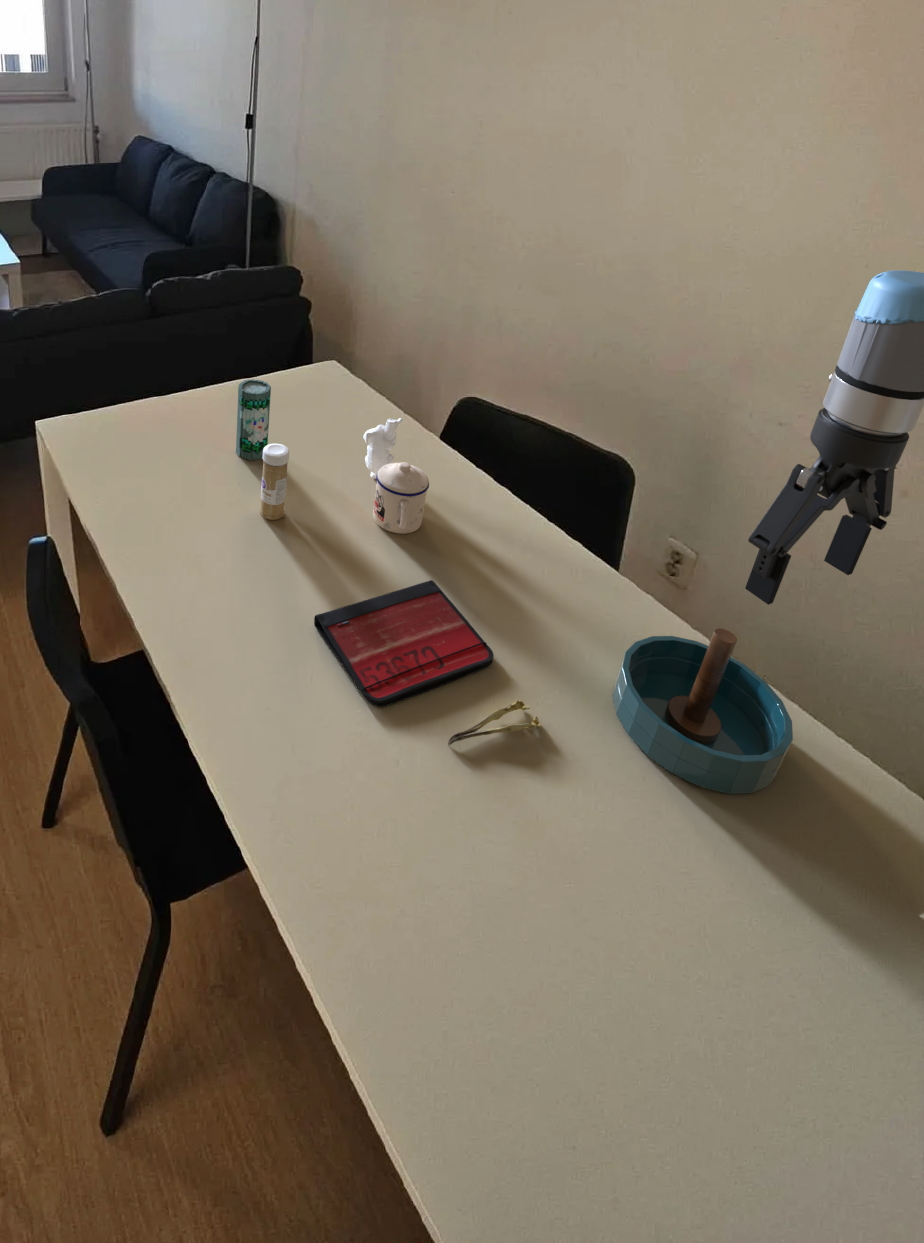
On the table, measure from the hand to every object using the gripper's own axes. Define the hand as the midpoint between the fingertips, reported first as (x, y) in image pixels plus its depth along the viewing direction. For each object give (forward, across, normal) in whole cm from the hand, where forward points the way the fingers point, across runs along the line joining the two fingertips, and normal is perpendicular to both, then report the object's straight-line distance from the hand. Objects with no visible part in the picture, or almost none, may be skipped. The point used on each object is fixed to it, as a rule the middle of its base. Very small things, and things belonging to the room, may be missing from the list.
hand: (799, 581), depth 85 cm
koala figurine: (+24, +13, -66) cm, 71 cm away
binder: (+25, +32, -27) cm, 49 cm away
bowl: (+25, +5, -3) cm, 25 cm away
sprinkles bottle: (+24, +38, -61) cm, 76 cm away
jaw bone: (+25, +30, -11) cm, 40 cm away
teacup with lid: (+24, +18, -51) cm, 59 cm away
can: (+24, +34, -81) cm, 91 cm away
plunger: (+24, +5, -3) cm, 25 cm away
